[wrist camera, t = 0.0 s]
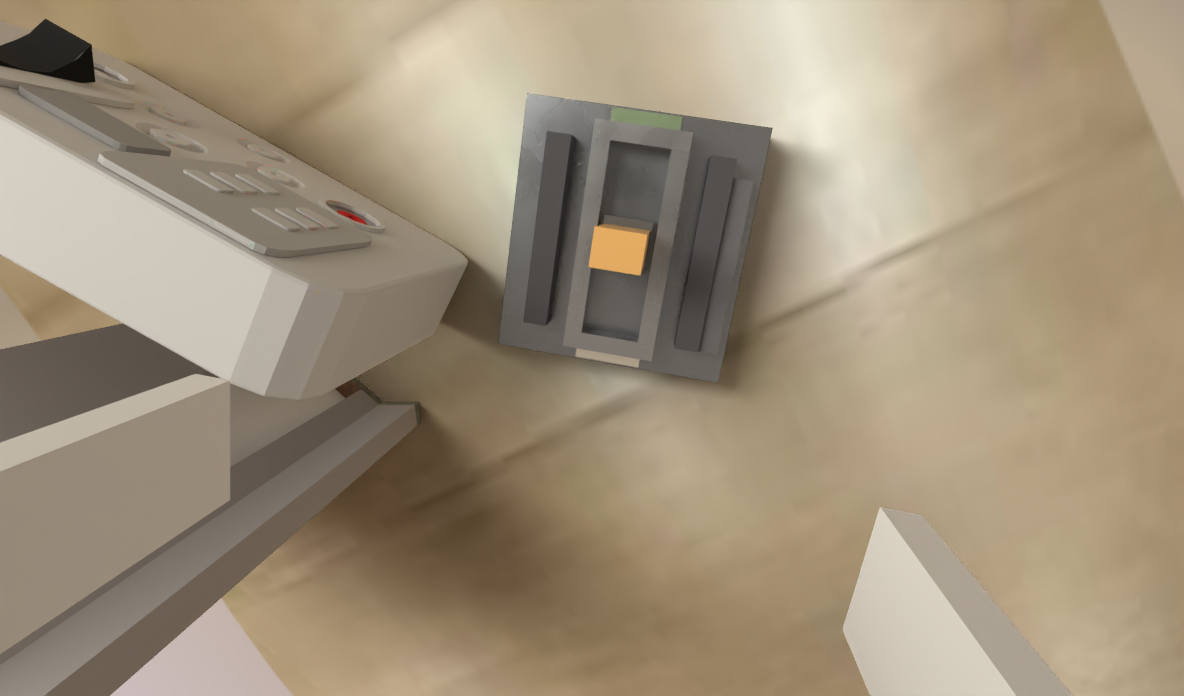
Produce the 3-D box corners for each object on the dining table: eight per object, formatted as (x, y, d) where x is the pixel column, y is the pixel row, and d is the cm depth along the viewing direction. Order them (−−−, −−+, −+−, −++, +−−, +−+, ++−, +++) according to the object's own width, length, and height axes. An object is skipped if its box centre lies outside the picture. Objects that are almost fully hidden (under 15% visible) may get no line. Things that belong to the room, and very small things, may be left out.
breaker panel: (537, 102, 37) (521, 87, 32) (763, 134, 35) (777, 124, 31) (510, 334, 40) (491, 349, 36) (714, 370, 39) (720, 390, 35)
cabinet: (162, 421, 45) (-580, 736, 18) (135, 297, 43) (-753, 446, 16) (420, 422, 43) (-2, 792, 16) (406, 290, 41) (-115, 456, 13)
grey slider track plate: (551, 133, 34) (546, 130, 33) (754, 163, 33) (758, 162, 32) (528, 317, 37) (523, 321, 35) (715, 350, 36) (717, 356, 34)
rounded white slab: (495, 230, 39) (357, 248, 21) (447, 328, 41) (285, 417, 23) (116, 16, 39) (-334, -142, 21) (87, 125, 41) (-347, 62, 23)
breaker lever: (606, 214, 35) (594, 215, 28) (653, 221, 34) (651, 224, 28) (599, 264, 35) (584, 276, 29) (644, 272, 35) (640, 285, 29)
